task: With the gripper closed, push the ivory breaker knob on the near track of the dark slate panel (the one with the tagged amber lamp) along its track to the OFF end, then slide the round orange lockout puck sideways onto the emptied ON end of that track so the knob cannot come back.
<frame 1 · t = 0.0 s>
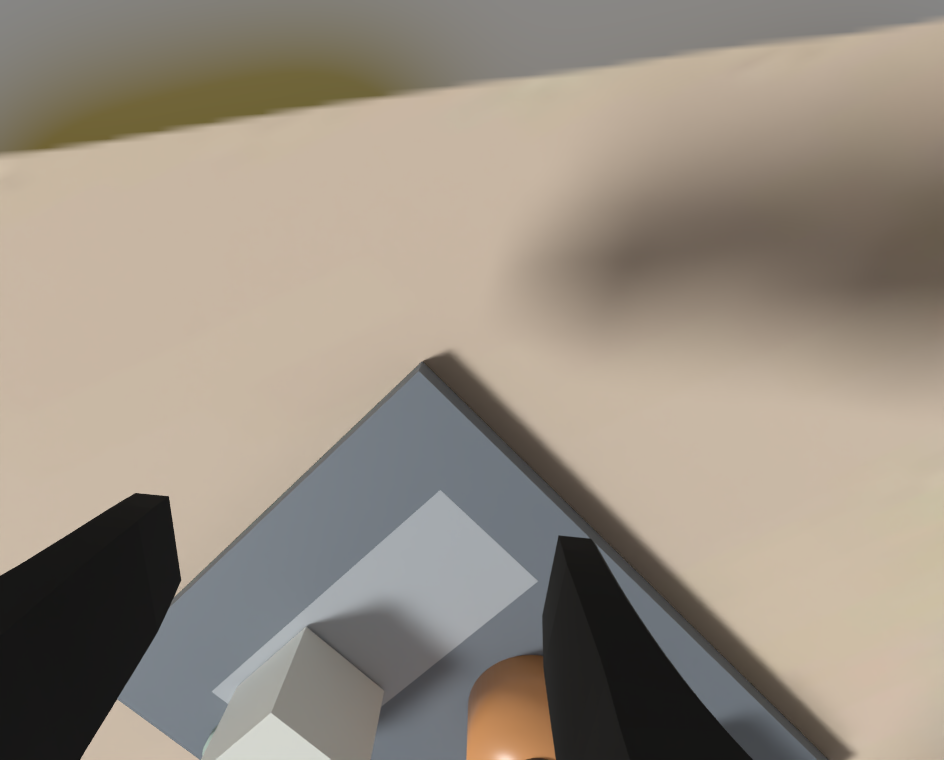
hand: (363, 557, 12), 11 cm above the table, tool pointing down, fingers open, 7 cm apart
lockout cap: (530, 706, 24), point 1 cm above the table, touching breaker panel
breaker knob A: (294, 735, 22), point 3 cm above the table, slide at 6.5 cm
breaker panel: (476, 710, 26), on the table
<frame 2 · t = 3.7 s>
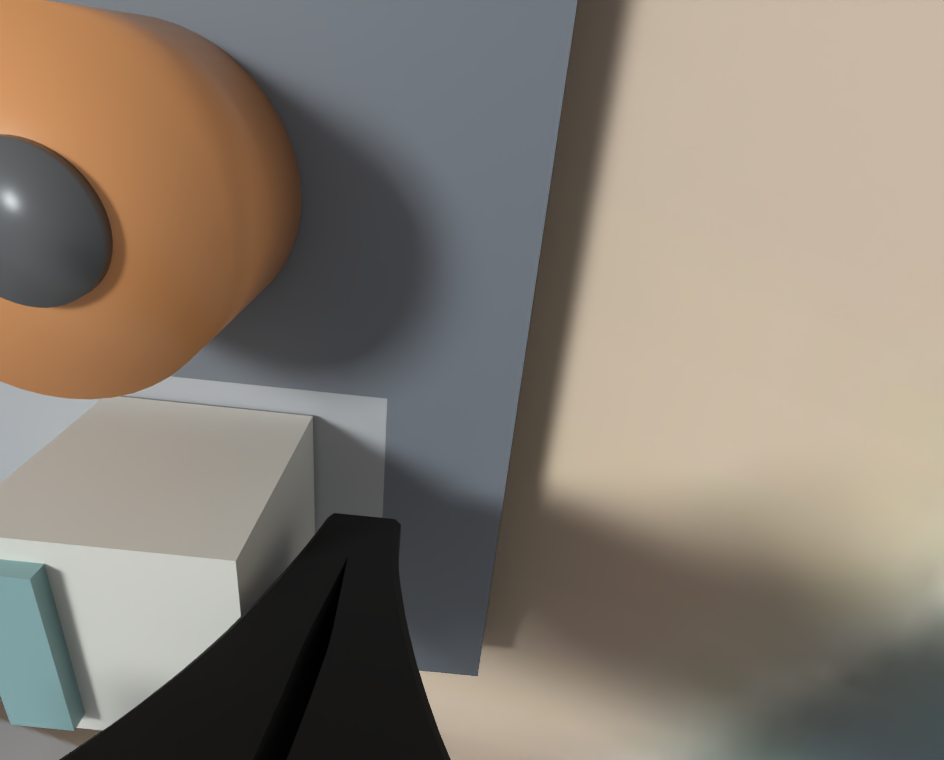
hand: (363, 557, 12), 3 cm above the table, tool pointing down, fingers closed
breaker knob B: (170, 562, 11), point 3 cm above the table, slide at 0.4 cm, touching gripper
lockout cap: (157, 180, 10), point 1 cm above the table, touching breaker panel
breaker panel: (40, 105, 11), on the table
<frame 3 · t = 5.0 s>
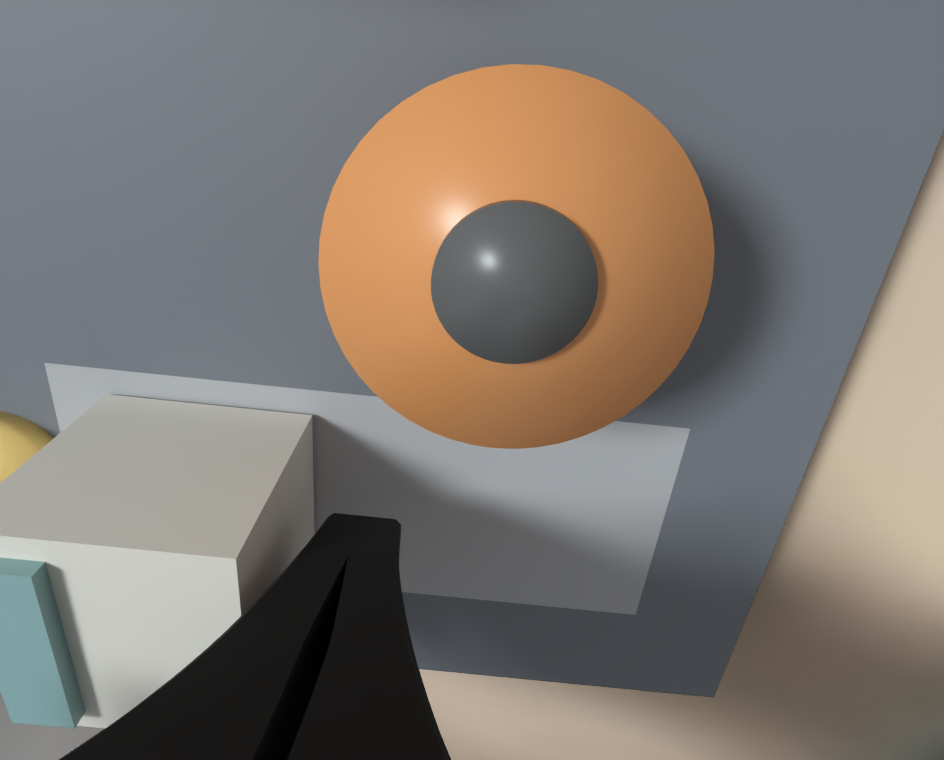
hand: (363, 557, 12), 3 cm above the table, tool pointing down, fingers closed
breaker knob B: (170, 560, 11), point 3 cm above the table, slide at 6.3 cm, touching gripper
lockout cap: (508, 224, 11), point 1 cm above the table, touching breaker panel
breaker panel: (373, 140, 11), on the table
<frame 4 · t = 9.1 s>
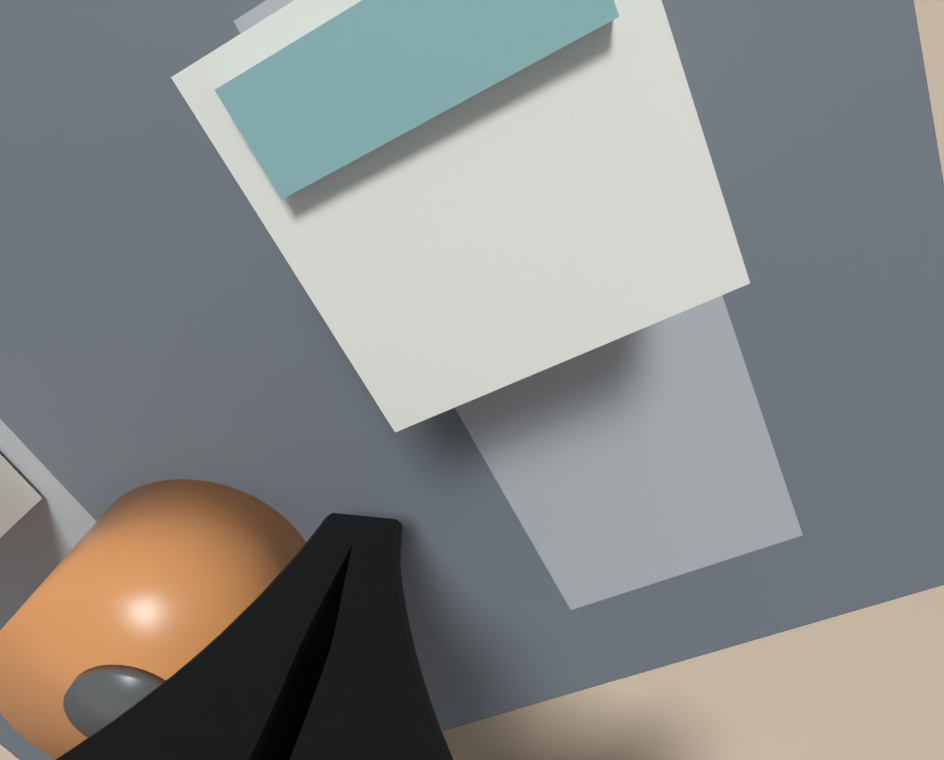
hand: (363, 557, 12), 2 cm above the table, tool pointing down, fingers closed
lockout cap: (207, 570, 14), point 1 cm above the table
breaker knob A: (480, 160, 7), point 3 cm above the table, slide at 6.5 cm
breaker panel: (288, 407, 13), on the table
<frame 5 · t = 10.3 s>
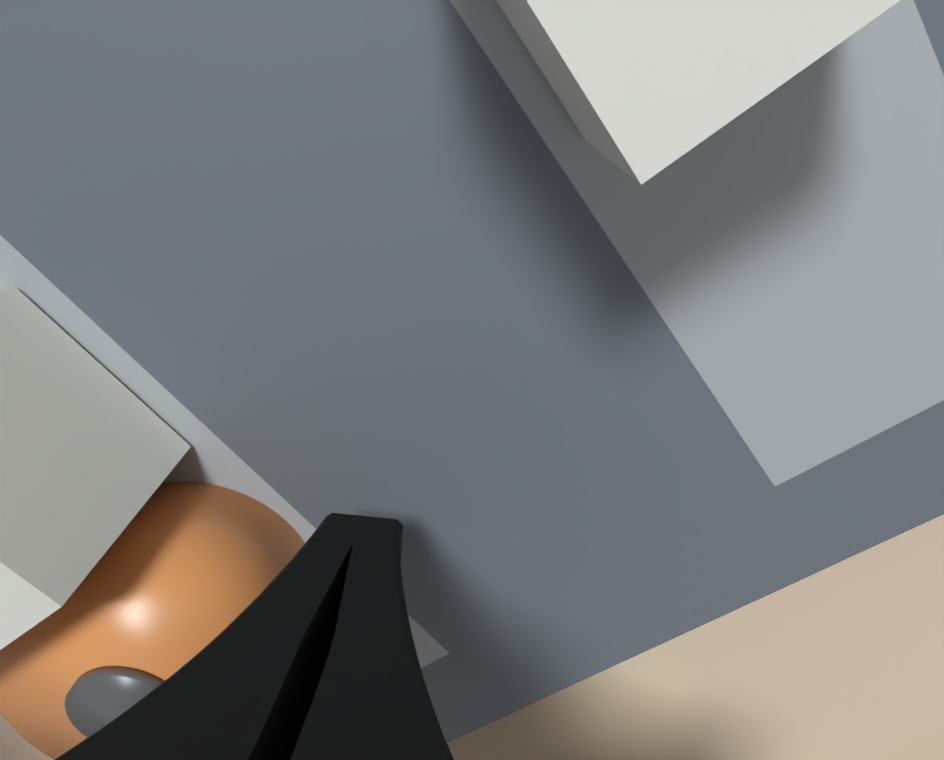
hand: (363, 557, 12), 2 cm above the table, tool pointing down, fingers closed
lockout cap: (208, 571, 14), point 1 cm above the table, touching breaker panel
breaker panel: (428, 311, 12), on the table
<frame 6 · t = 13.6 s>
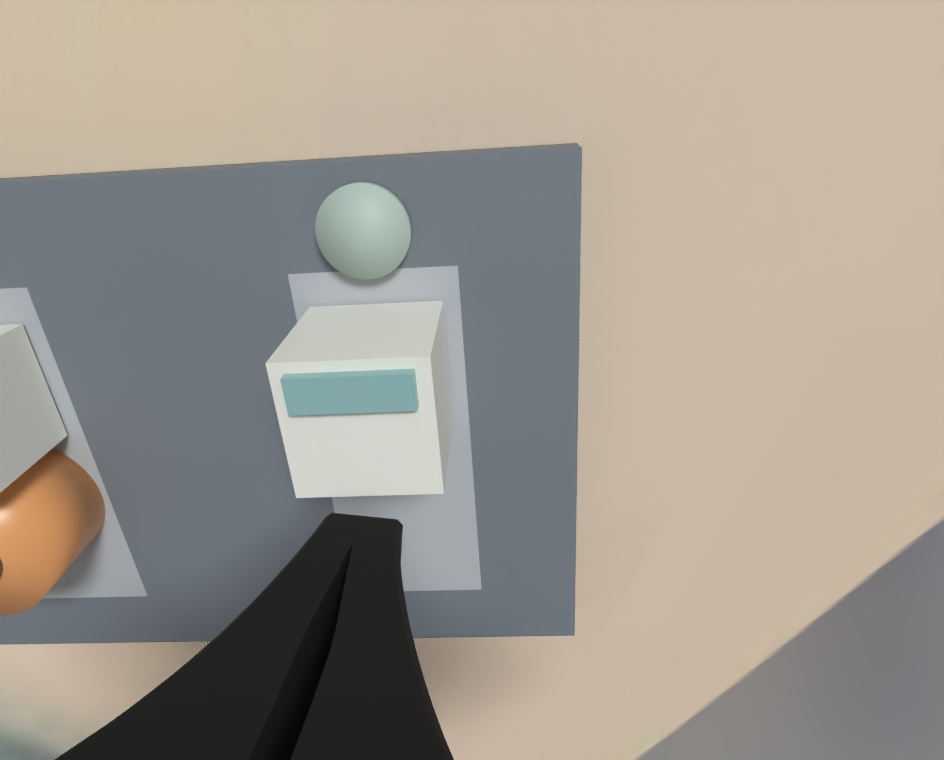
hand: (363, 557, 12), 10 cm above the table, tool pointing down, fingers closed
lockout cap: (37, 496, 22), point 1 cm above the table, touching breaker panel
breaker knob A: (371, 397, 18), point 3 cm above the table, slide at 6.5 cm
breaker panel: (233, 432, 22), on the table
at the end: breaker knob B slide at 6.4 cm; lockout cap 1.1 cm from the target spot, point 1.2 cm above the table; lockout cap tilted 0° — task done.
